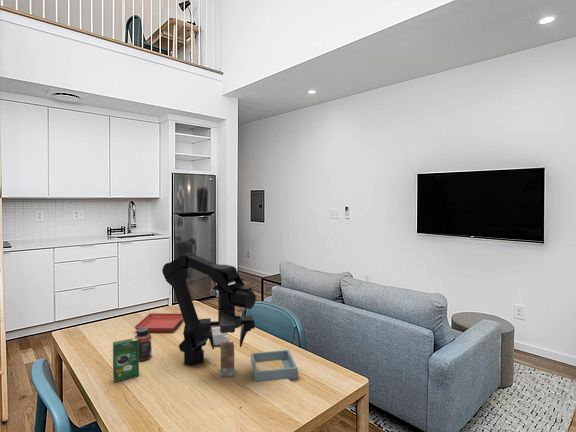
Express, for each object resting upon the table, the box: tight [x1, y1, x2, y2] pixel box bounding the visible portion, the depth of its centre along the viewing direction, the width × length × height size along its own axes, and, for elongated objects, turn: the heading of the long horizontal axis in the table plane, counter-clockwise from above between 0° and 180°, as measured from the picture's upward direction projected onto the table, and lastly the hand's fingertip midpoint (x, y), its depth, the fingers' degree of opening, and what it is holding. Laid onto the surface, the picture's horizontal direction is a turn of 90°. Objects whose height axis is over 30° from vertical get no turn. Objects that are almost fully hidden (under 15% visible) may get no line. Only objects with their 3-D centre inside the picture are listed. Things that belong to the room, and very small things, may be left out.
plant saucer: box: [134, 312, 183, 333], centre depth 170 cm, size 18×18×3 cm
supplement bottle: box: [134, 328, 153, 362], centre depth 137 cm, size 6×6×11 cm
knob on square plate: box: [219, 368, 237, 379], centre depth 124 cm, size 5×5×3 cm
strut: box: [219, 341, 235, 378], centre depth 124 cm, size 4×4×10 cm
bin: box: [250, 349, 299, 382], centre depth 128 cm, size 14×14×4 cm
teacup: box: [212, 327, 230, 346], centre depth 150 cm, size 10×8×5 cm
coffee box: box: [112, 337, 140, 383], centre depth 123 cm, size 8×3×13 cm, turn 123°
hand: (227, 347), depth 124 cm, fingers open, 9 cm apart
